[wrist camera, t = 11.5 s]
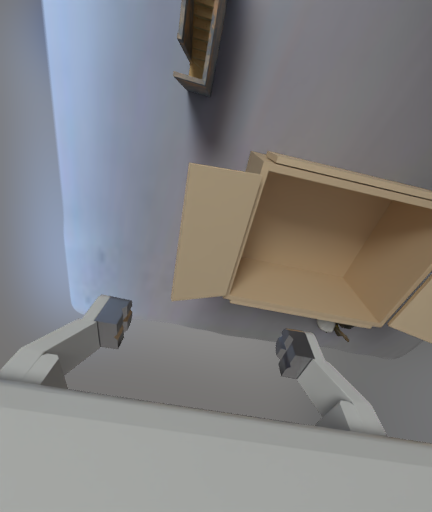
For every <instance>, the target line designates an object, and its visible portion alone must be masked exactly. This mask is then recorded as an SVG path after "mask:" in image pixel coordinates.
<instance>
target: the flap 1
mask: <svg viewBox="0 0 432 512" xmlns="http://www.w3.org/2000/svg"><path fill="white" fill-rule="evenodd" d="M261 179H262V175H260V174H255V173H249V172H243V171H237V170H231V169H225V168H219V167H213V166H207V165H201V164H195V163H189V168H188V175H187V182H186V190H185V197H184V205H183V212H182V220H181V227H180V235H179V242H178V249H177V257H176V264H175V272H174V279H173V287H172V294H171V300H172V301H178V300H188V299H198V298H207V297H217V296H226V293H227V289H228V286H229V283H230V280H231V276H232V273H233V270H234V267H235V263H236V260H237V257H238V254H239V250H240V247H241V244H242V241H243V237H244V234H245V231H246V228H247V224H248V221H249V218H250V215H251V211H252V208H253V205H254V201H255V198H256V195H257V192H258V188H259V185H260V182H261Z"/></svg>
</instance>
